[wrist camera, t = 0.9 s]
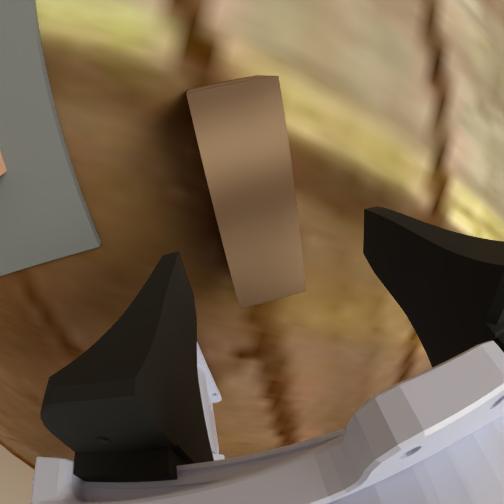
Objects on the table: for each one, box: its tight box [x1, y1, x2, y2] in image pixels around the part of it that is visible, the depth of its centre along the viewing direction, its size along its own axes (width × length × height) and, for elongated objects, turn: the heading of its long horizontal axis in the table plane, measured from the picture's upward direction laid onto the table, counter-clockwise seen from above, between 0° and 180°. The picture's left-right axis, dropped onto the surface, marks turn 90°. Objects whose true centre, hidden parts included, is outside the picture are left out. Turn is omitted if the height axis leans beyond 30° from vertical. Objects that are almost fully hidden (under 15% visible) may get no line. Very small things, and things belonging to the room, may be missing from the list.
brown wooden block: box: [186, 76, 306, 308], centre depth 18 cm, size 12×4×5 cm, turn 10°
